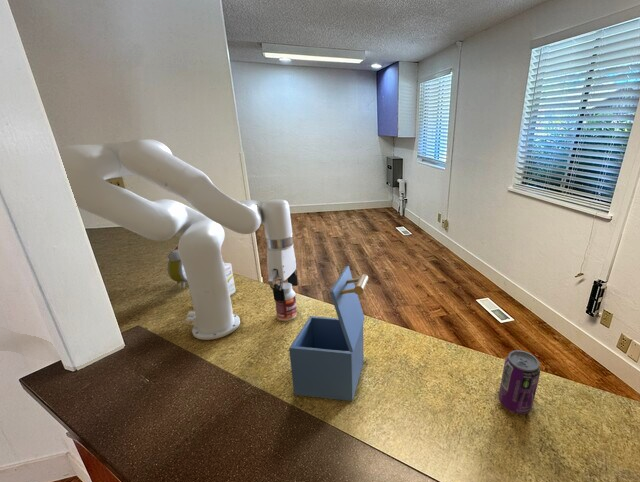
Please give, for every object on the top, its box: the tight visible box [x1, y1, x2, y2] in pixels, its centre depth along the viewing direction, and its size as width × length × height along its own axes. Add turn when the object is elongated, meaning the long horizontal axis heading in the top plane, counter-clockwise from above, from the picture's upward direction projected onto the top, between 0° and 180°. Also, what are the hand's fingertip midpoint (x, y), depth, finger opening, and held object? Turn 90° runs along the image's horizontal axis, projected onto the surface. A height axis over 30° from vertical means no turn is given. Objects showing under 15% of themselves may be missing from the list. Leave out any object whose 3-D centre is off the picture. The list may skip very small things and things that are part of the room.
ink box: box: [224, 262, 236, 296], centre depth 108 cm, size 9×8×12 cm
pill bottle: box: [274, 282, 298, 322], centre depth 97 cm, size 6×6×11 cm
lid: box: [329, 265, 369, 352], centre depth 67 cm, size 14×13×6 cm
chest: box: [288, 315, 365, 402], centre depth 72 cm, size 14×13×13 cm
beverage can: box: [498, 349, 541, 415], centre depth 66 cm, size 7×7×12 cm
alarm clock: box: [166, 249, 188, 290], centre depth 116 cm, size 12×7×15 cm, turn 179°
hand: (286, 292), depth 96 cm, fingers open, 9 cm apart
